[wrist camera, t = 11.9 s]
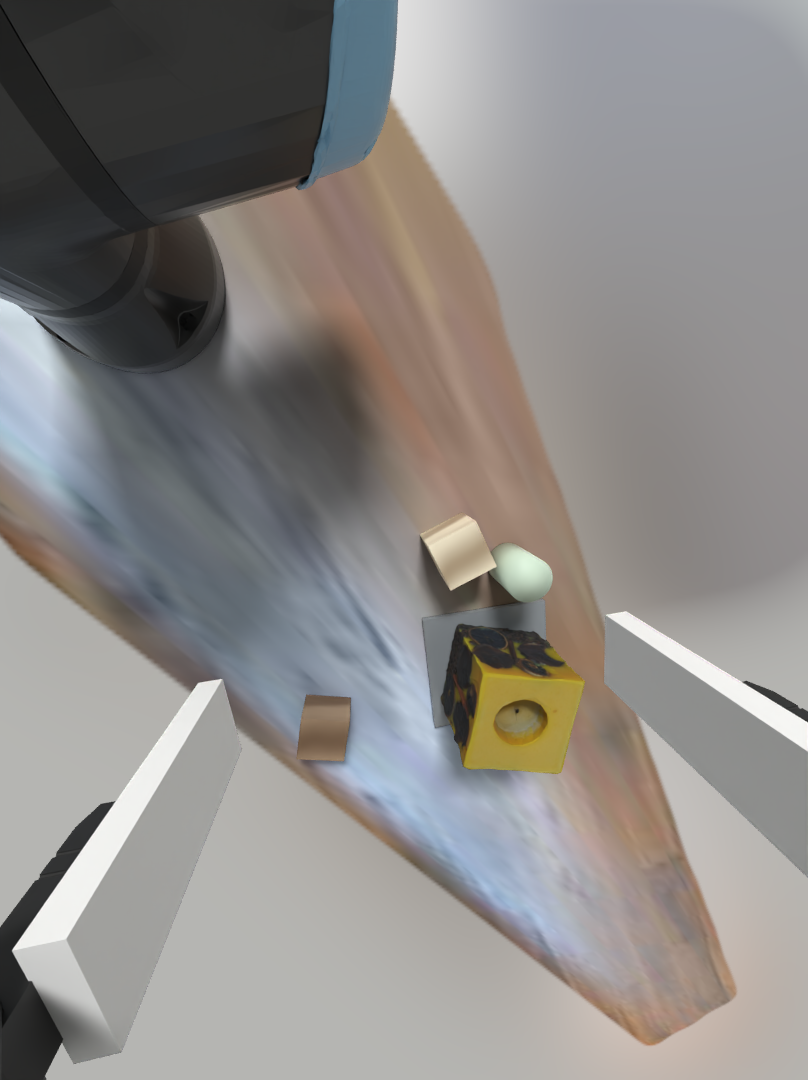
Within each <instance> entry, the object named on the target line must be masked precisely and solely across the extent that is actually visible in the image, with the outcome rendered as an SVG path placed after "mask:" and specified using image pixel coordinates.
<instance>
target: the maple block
mask: <svg viewBox="0 0 808 1080" xmlns="http://www.w3.org/2000/svg"><path fill="white" fill-rule="evenodd" d="M420 536H421V538H422V540H423V542H424V544H425V546H426V548H427V550H428V552H429V553H430V555H431V557H432V559H433V561H434V563H435V565H436V567H437V569H438V571H439V573H440V575H441V576H442V578H443V579H444V581H445V583H446V584H447V586H448V587H449V589H450V590H453V589H455V588H457V587H458V586H460V585H462V584H464V583H466V582H468V581H470V580H472V579H474V578H476V577H478V576H480V575H481V574H483V573H485V572H487V571H489V570H491V569H493V568H495V567H497V566H496V563H495V561H494V559H493V557H492V555H491V553H490V551H489V548H488V546H487V544H486V542H485V540H484V538H483V535H482V533H481V531H480V529H479V527H478V525H477V522H476V521H475V520H473V519H472V518H470V517H468V516H467V515H465V514H464V513H460V514H458V515H456V516H454V517H452V518H450V519H449V520H447V521H445V522H443V523H441V524H439V525H437V526H435V527H433V528H431V529H430V530H428V531H426V532H424V533H422V534H420Z"/></svg>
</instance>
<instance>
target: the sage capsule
mask: <svg viewBox="0 0 808 1080" xmlns="http://www.w3.org/2000/svg"><path fill="white" fill-rule="evenodd" d="M491 555H492V557H493V559H494V561H495V563H496V566H497V567H495V568H493V569H491V570H489V573H490V574H491V576H492V577H493V578H494V579H495V580H496V581H498V582H499V583H500V584H501V585H502V586H503V587H504V588H505V589H506V590H507V591H508V592H509V593H510V594H511V595H512V596H513V597H514V598H515V599H517V600H519V601H521V602H534V601H537V600H539V599H540V598H542V597H543V596H544V595H545V594H546V593H547V592H548V591H549V589H550V587H551V584H552V578H553V577H552V571H551V569H550V567H549V566H548V564H546V563H545V562H544V561H542V560H541V559H539V558H537V557H536V556H534V555H533V554H531V553H529V552H528V551H526V550H524V549H523V548H521V547H519V546H518V545H516V544H513V543H503V544H500V545H498V546H497V547H495V548H494V549H493V550H492V551H491Z"/></svg>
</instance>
